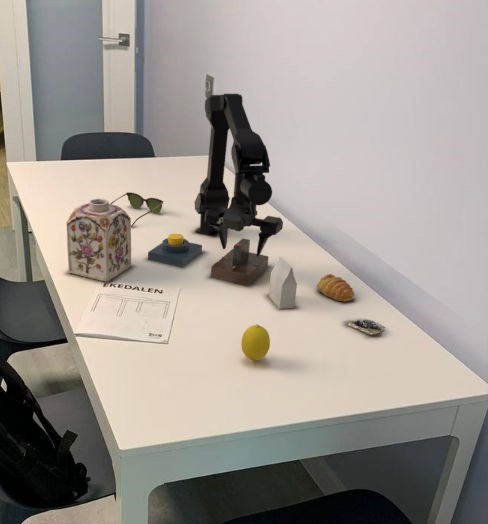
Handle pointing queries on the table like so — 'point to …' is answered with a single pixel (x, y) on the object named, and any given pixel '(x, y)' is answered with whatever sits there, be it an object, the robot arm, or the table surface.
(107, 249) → the decorative jar
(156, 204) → the sunglasses
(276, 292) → the grey wedge block
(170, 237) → the button
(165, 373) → the table surface
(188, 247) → the blue button base
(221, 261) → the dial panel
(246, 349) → the lemon
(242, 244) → the dark grey block
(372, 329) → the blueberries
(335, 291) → the pastry
